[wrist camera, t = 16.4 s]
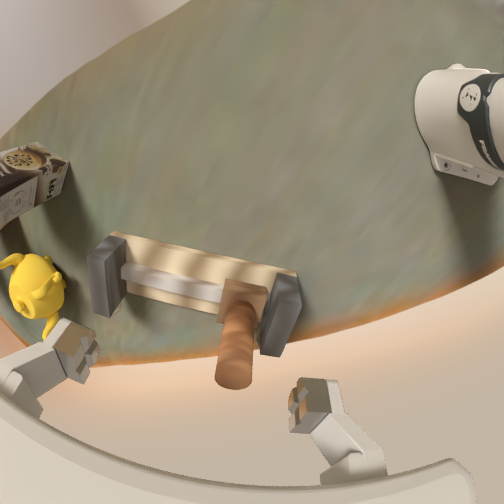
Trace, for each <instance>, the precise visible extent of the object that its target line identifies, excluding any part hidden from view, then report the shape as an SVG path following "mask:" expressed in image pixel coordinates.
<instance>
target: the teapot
mask: <svg viewBox="0 0 504 504" xmlns="http://www.w3.org/2000/svg"><path fill="white" fill-rule="evenodd" d="M52 263H53V261H52V259H51V257H50V256H49V255H45V257H44V258H43V257H41V256H39V255H35V254H26V255H22V254H20V253H14V254H12V255H10V256H8V257H7V258H6V259H4V260H3V261H0V269H4V268H5V267H7V266H8V265H13V266H15V268H14V270H13V272H12V275H11V279H10V284H9V294H10V298H11V300H12V302H13V306H14V308H15V309H16V310H17V311H18V312H19V313H21V314H22V315H24V316H25V317H27V318H29V319H39V318H44V317H46V318H47V325H46V327H45V329H44V331H43V341H44V340H45V339H46V338H47V336H48V335H49V334H50V332H51V331H52V330H53V328H54V327H55V326H56V324H57V322H58V317H59V314H58V310H59V309H60V308H61V307H62V305H63V302H64V288H66V287H67V285H66V283H65V281H64V280H63V279H62V274H61V273H60V272H57V270H56V269H55V268H54V266H53V265H52Z"/></svg>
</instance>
